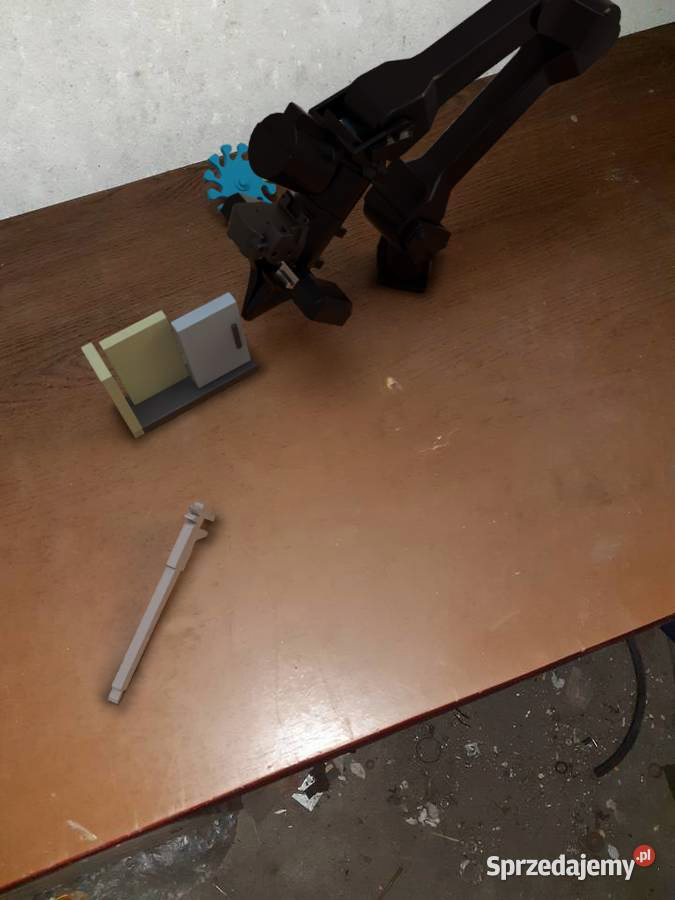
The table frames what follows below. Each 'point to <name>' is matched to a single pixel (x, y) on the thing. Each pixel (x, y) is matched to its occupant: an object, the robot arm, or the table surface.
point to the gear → (236, 176)
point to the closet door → (212, 339)
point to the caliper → (161, 595)
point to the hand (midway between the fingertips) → (245, 318)
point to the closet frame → (153, 374)
